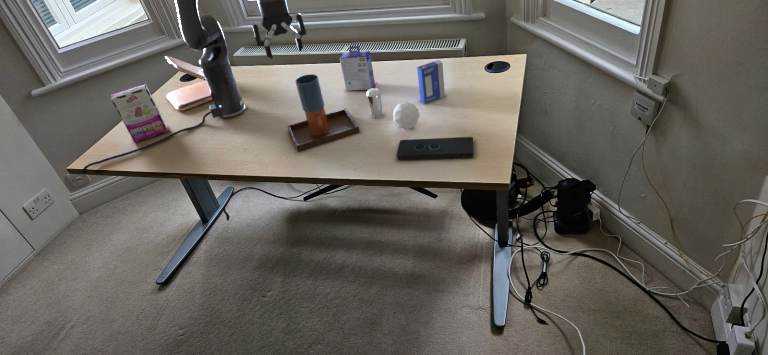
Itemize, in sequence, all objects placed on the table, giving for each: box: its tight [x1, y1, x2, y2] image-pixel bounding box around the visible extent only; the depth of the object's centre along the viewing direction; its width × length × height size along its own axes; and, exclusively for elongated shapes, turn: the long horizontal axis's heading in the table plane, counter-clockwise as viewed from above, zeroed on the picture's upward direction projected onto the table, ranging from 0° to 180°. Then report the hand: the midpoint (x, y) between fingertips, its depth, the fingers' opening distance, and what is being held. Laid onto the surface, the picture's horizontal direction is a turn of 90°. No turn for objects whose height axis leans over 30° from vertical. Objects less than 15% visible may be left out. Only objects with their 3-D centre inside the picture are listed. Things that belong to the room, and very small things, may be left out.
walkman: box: [416, 59, 446, 105], centre depth 148 cm, size 8×3×12 cm, turn 116°
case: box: [164, 55, 213, 112], centre depth 178 cm, size 20×21×16 cm
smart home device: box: [396, 136, 474, 161], centre depth 126 cm, size 8×2×20 cm
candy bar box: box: [110, 83, 169, 144], centre depth 155 cm, size 11×5×16 cm, turn 117°
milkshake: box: [365, 81, 384, 119], centre depth 145 cm, size 5×5×10 cm
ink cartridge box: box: [339, 45, 376, 92], centre depth 163 cm, size 10×6×14 cm, turn 79°
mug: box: [303, 106, 329, 136], centre depth 140 cm, size 8×6×8 cm
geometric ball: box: [392, 101, 420, 130], centre depth 137 cm, size 8×8×8 cm
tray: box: [287, 108, 361, 153], centre depth 143 cm, size 19×14×2 cm
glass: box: [295, 73, 325, 113], centre depth 136 cm, size 6×6×9 cm
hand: (285, 54), depth 137 cm, fingers open, 8 cm apart
